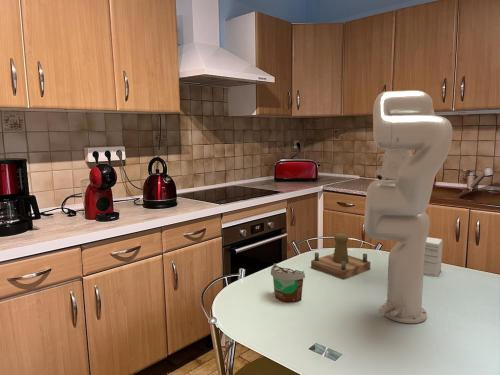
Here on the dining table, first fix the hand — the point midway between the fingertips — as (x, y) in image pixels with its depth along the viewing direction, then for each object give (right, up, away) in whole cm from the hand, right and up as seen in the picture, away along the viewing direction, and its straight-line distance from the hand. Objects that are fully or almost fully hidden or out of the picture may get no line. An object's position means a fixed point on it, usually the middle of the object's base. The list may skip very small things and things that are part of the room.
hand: (396, 195), depth 140 cm
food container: (-41, -33, -13) cm, 55 cm away
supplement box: (+15, -29, +8) cm, 34 cm away
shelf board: (-17, -29, +14) cm, 36 cm away
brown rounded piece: (-17, -26, +13) cm, 34 cm away
